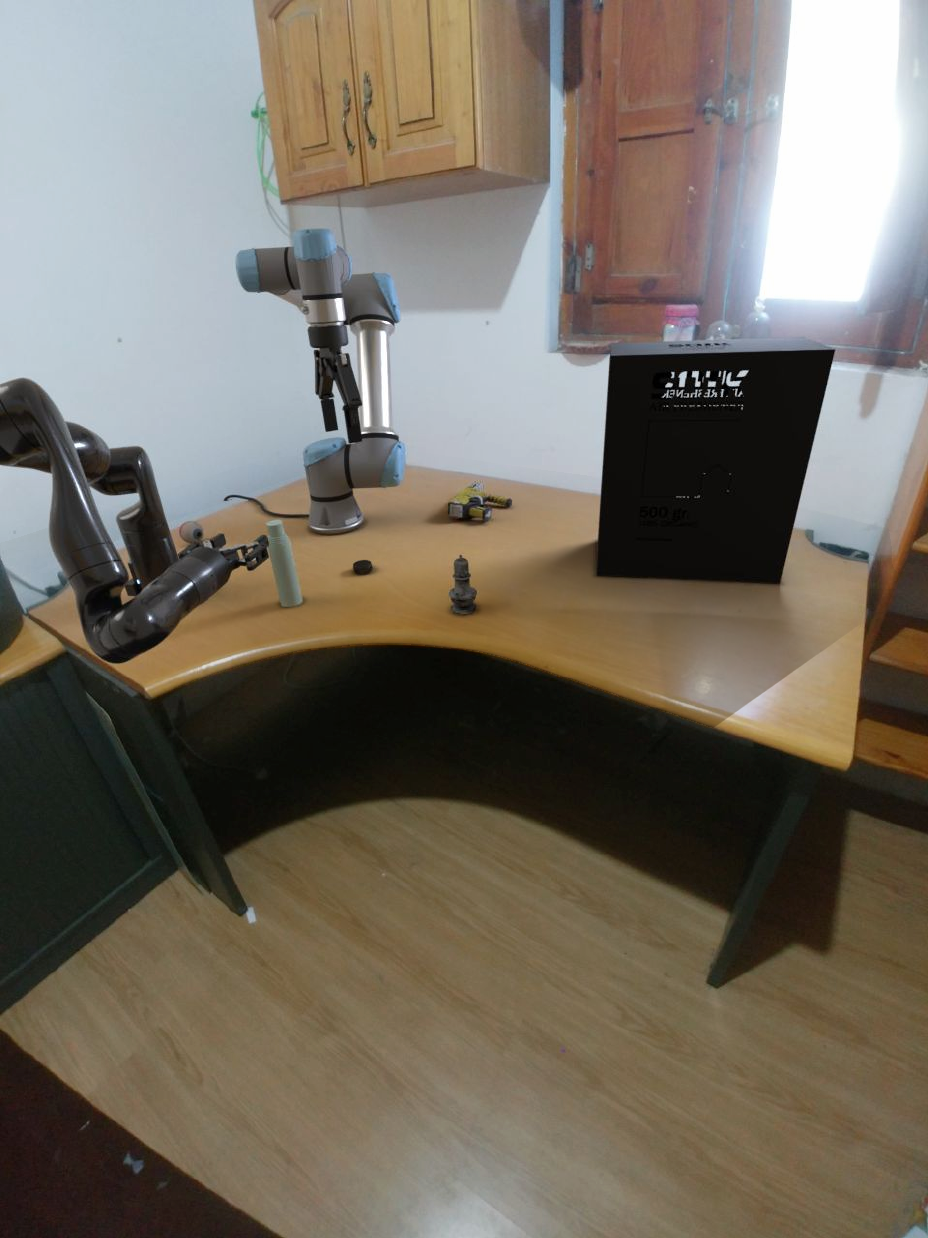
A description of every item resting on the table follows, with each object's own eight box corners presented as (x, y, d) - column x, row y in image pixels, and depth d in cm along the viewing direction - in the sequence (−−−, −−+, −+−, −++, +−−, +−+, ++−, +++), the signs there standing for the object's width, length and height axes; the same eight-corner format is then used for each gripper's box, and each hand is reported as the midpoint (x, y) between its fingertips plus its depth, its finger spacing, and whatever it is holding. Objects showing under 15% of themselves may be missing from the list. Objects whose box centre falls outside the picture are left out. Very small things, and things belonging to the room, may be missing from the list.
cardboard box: (759, 545, 143) (803, 336, 120) (780, 583, 126) (835, 349, 103) (597, 539, 151) (610, 343, 128) (596, 575, 134) (610, 355, 111)
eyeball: (192, 548, 159) (186, 527, 156) (178, 544, 162) (171, 523, 159) (211, 540, 164) (205, 519, 161) (197, 537, 167) (190, 516, 164)
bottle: (306, 598, 132) (290, 519, 123) (296, 608, 128) (278, 527, 119) (287, 596, 133) (270, 518, 124) (276, 606, 129) (258, 526, 120)
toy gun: (520, 486, 181) (473, 479, 185) (498, 510, 161) (445, 501, 165) (519, 501, 183) (472, 494, 187) (496, 526, 163) (445, 518, 167)
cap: (364, 565, 145) (363, 558, 144) (376, 569, 142) (375, 562, 142) (350, 572, 142) (348, 564, 141) (362, 576, 140) (361, 569, 139)
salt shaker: (475, 615, 121) (472, 561, 115) (446, 614, 122) (442, 560, 116) (480, 601, 126) (478, 548, 120) (452, 600, 127) (449, 547, 121)
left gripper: (229, 558, 94) (275, 520, 108) (148, 555, 97) (204, 518, 110) (240, 600, 98) (284, 558, 112) (162, 596, 101) (214, 555, 114)
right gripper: (288, 323, 124) (307, 429, 134) (330, 328, 105) (348, 450, 116) (323, 320, 127) (338, 423, 138) (370, 324, 108) (384, 444, 119)
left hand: (244, 538), depth 111 cm, fingers open, 8 cm apart
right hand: (343, 436), depth 127 cm, fingers open, 13 cm apart
